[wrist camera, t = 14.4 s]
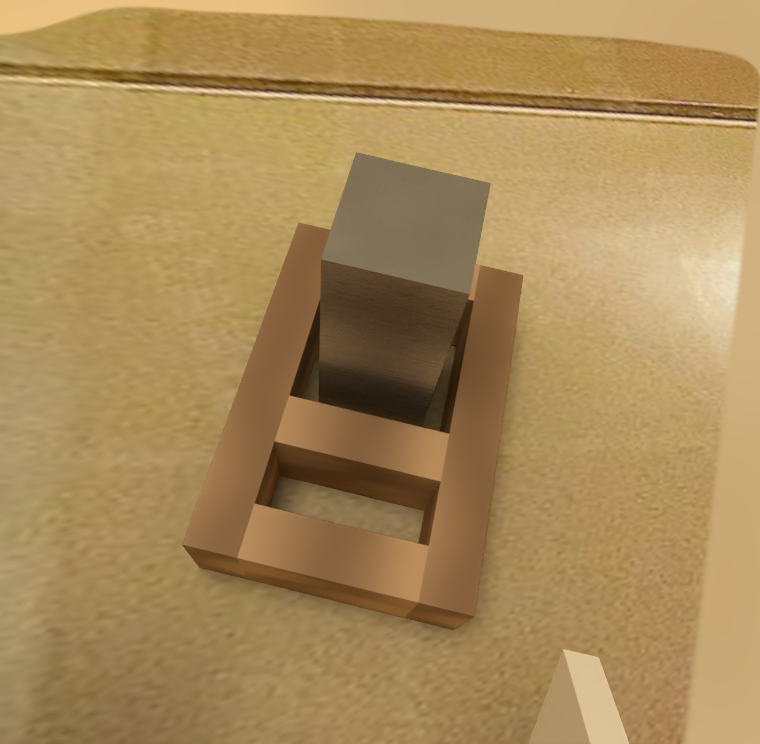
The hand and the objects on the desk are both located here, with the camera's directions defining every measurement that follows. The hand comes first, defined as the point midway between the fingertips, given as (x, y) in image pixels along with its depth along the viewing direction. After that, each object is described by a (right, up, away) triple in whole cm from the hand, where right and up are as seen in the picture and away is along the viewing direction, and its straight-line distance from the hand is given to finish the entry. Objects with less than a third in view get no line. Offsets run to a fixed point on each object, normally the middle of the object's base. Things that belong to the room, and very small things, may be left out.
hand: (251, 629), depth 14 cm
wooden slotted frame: (+2, +3, +16) cm, 16 cm away
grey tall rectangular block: (+3, +5, +17) cm, 18 cm away
